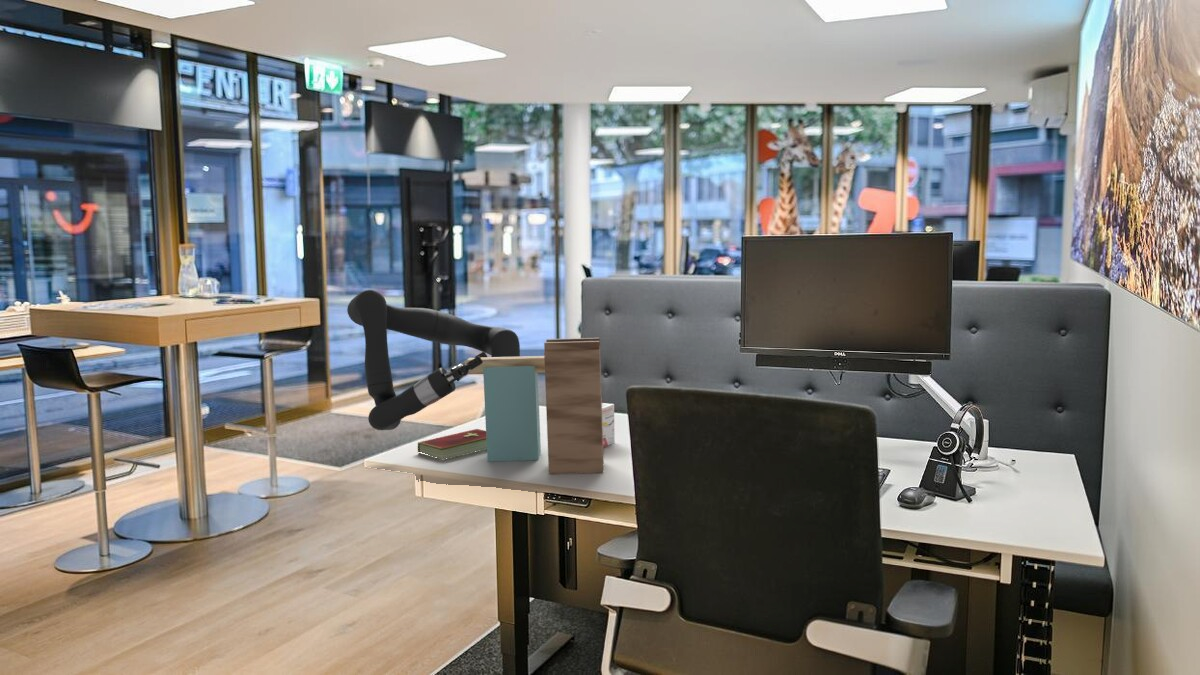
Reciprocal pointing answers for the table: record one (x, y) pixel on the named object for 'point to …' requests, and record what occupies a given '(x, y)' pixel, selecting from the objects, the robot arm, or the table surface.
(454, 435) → the hardcover book
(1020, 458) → the table surface
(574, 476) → the table surface
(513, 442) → the teal tall block
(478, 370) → the oak block
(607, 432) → the ink cartridge box
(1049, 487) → the table surface
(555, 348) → the walnut stand
